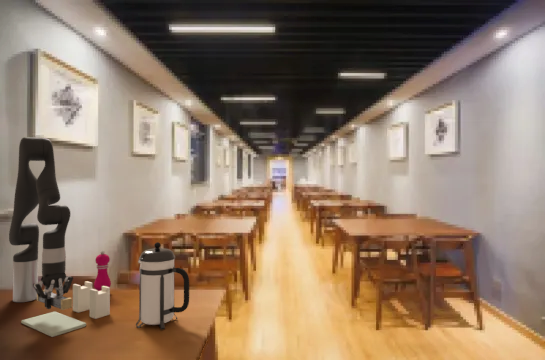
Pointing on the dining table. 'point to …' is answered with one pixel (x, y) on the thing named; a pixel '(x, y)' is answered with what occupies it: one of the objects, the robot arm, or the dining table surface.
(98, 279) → the pepper mill
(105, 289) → the post
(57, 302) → the rail
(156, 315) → the coffee press
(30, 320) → the mat
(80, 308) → the post
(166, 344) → the dining table surface
